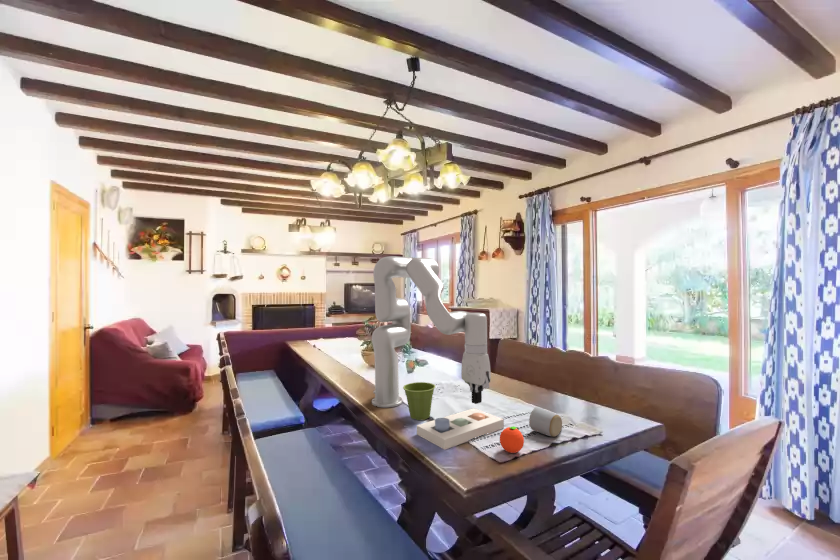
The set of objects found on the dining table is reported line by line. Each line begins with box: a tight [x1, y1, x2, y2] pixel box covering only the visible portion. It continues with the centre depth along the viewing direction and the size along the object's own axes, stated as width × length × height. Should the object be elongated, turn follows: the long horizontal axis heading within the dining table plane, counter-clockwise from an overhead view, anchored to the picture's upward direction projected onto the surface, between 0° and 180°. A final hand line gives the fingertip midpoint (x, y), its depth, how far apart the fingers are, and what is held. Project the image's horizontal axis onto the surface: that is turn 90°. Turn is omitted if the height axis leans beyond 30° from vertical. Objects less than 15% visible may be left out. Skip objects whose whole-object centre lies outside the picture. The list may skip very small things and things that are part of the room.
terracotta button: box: [471, 413, 485, 421], centre depth 132 cm, size 5×5×3 cm
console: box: [416, 407, 505, 450], centre depth 127 cm, size 14×26×3 cm, turn 126°
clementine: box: [499, 425, 525, 454], centre depth 112 cm, size 8×7×7 cm
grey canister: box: [528, 406, 564, 438], centre depth 125 cm, size 11×8×8 cm
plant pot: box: [402, 381, 436, 421], centre depth 140 cm, size 12×12×11 cm
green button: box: [454, 418, 468, 427], centre depth 127 cm, size 5×5×3 cm
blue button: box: [434, 417, 450, 433], centre depth 122 cm, size 5×5×3 cm
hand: (476, 402), depth 131 cm, fingers closed
